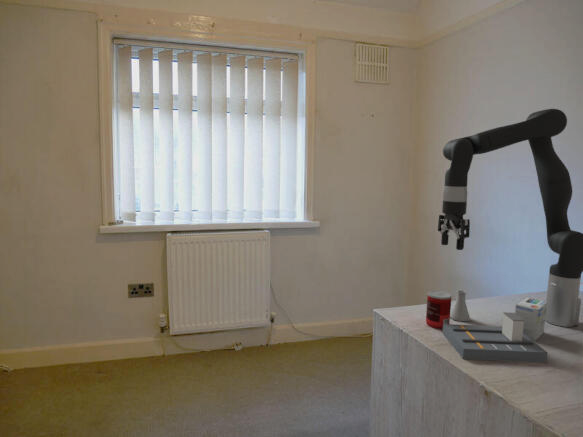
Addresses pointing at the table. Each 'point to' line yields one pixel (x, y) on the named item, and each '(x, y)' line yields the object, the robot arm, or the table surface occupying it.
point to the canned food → (438, 309)
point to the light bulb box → (532, 316)
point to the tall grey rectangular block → (512, 326)
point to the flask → (460, 308)
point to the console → (491, 344)
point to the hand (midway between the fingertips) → (451, 247)
